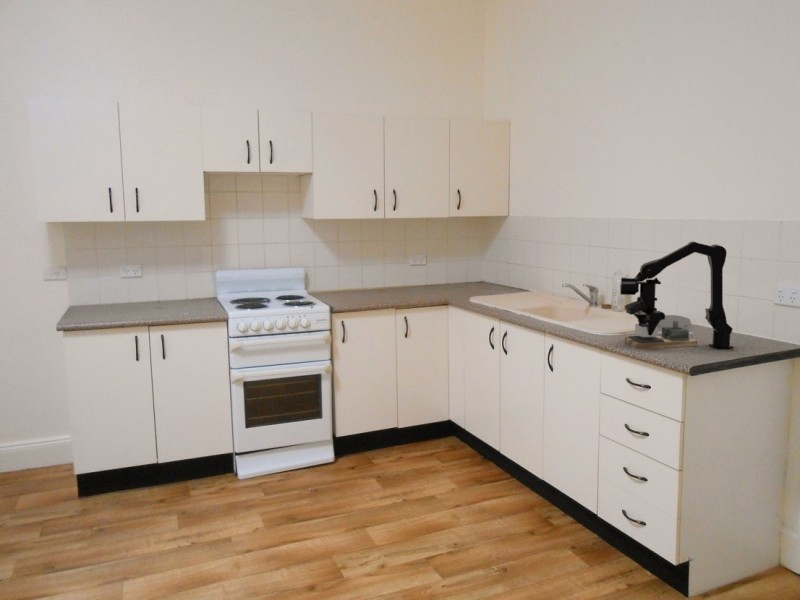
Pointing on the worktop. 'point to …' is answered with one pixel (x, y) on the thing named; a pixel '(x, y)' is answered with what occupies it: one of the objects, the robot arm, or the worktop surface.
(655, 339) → the mat
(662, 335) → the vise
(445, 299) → the worktop surface
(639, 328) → the collar
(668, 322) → the grey arched bracket
